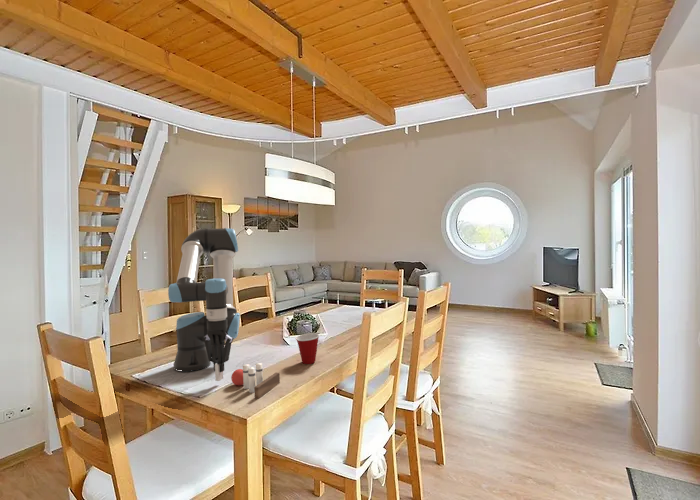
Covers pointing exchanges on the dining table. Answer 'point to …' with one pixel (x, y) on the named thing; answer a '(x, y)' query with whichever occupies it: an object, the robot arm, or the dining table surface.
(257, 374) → the pin
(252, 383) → the pin
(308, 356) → the plastic cup
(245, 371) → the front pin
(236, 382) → the ball
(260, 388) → the stopper wall
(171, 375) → the dining table surface
